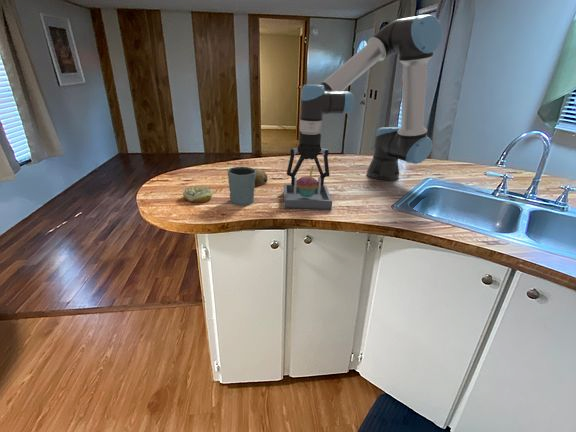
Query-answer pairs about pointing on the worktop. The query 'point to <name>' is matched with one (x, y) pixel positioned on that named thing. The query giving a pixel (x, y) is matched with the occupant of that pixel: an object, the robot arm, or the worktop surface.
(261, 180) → the bread roll
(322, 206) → the serving tray
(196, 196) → the decorated donut
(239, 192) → the grey cup
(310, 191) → the cupcake
